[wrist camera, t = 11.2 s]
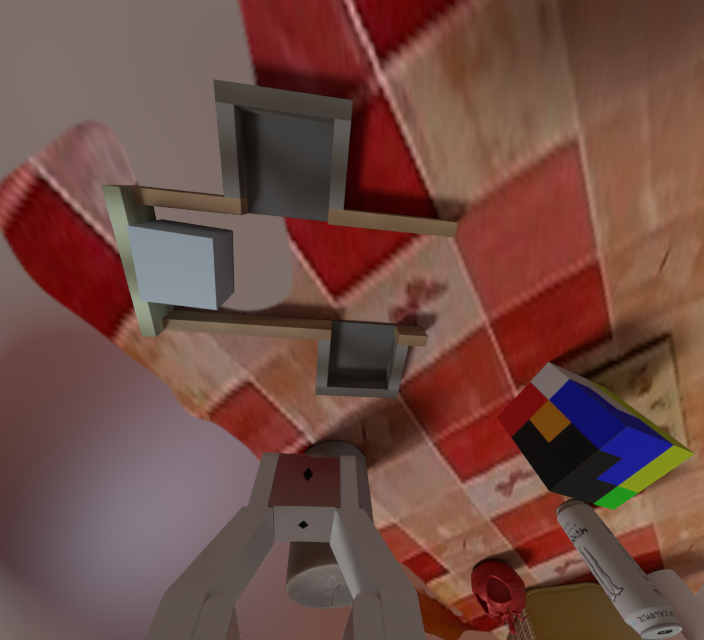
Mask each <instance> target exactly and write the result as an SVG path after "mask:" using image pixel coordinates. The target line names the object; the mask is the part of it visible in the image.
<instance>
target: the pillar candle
mask: <svg viewBox="0 0 704 640" xmlns="http://www.w3.org/2000/svg"><path fill="white" fill-rule="evenodd" d="M303 454H305V455H310V454H322V455H339V456H340V455H342V456H355V459H356V471H357V485H358V500H359V508H360V509H364V510H365V512H366V513H367V515H368V516H369V518H370V519H371V521H372V522H373V515H372V506H371V498H370V490H369V483H368V475H367V467H366V460H365V456H364V455H363V453H362V452H361V451H360V450H359V449H358V448H357V447H355V446H354V445H352V444H350V443H347V442H343V441H326V442H322V443H319V444H316V445H315V446H312V447H311V448H310V449H308V450H307V451H305V452H304V453H303ZM373 524H374V523H373ZM285 588H286V589H285V590H286V593H287V595H288V597H289V598H290V599H291V600H292V601H294V602H296V603H298V604H300V605H303V606H307V607H310V608H319V609H328V608H338V607H345V606H349V605H352V602H353V600H354V599H353V597H352V595H351V592H350V590H349V588H348V585H347V583H346V581H345V578H344V576H343V574H342V571H341V569H340V567H339V564H338V562H337V560H336V557H335V555H334V553H333V551H332V548H331V546H330V542H306V541H296V542H290V551H289V559H288V569H287V579H286V587H285Z"/></svg>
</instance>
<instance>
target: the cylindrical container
mask: <svg viewBox="0 0 704 640" xmlns="http://www.w3.org/2000/svg"><path fill="white" fill-rule="evenodd" d="M647 577H648V578H649V579H650V581H651V582H652V583H653V584H654V586H655V587H656V588H657V589H658V591H659V592H660V593H661V594H662V596H663V597H664V598H665V599H666V601H667V602H668V603H669V604H670V606H671V607H672V609H673V611H674V614H675V617H676V620H677V622H678V624H679V625H680V626H681V627H682V630H681V633H682V634H683V635H684V636H685V638H686V639H687V640H704V605H703V604H702V603H701V601H700V600H699V599H698V598H697V597H696V596H695V594H694V593H693V592H692V591H691V590H690V589H689V588H688V587H687V585H686V584H685V583H684V582H683V581H682V580H681V579H680V577H679V576H678V575H677V574H676V573H675V572H674V571H673V570H671V569H664V570H659V571H655V572H653V573H650V574H648V575H647Z"/></svg>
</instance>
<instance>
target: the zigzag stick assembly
mask: <svg viewBox="0 0 704 640" xmlns="http://www.w3.org/2000/svg"><path fill="white" fill-rule="evenodd" d="M214 91H215V102H216V112H217V122H218V134H219V145H220V154H221V166H222V177H223V187H224V195H216V194H207V193H198V192H189V191H180V190H171V189H161V188H152V187H144V186H135V185H101V186H102V190H103V193H104V197H105V201H106V204H107V208H108V212H109V216H110V219H111V223H112V227H113V230H114V234H115V238H116V241H117V245H118V249H119V253H120V256H121V260H122V264H123V267H124V271H125V275H126V278H127V282H128V286H129V290H130V293H131V297H132V301H133V304H134V308H135V312H136V315H137V319H138V323H139V327H140V330H141V334H142V336H151V337H156V336H158V335H159V334H160V333H161V332H162V331H164V330H170V331H186V332H202V333H218V334H234V335H250V336H266V337H282V338H298V339H314V340H319V343H318V360H317V377H316V394H315V395H334V396H357V397H380V398H397V394H398V390H399V386H400V381H401V377H402V373H403V368H404V364H405V360H406V355H407V351H408V347H409V345H410V346H426V342H427V338H428V336H427V334H426V333H425V331H424V329H423V328H422V327H418V326H404V325H389V324H375V323H361V322H346V321H332V320H318V319H303V318H289V317H275V316H260V315H246V314H232V313H217V312H203V311H189V310H174V306H173V305H171V304H163V303H155V302H146V301H141V299H140V293H139V288H138V283H137V277H136V272H135V267H134V261H133V256H132V251H131V245H130V240H129V235H128V229H127V225H133V224H139V223H144V222H150V221H156V216H155V211H154V206H159V207H169V208H179V209H188V210H198V211H207V212H216V213H226V214H237V215H243V214H246V213H253V214H264V215H272V216H281V217H291V218H300V219H310V220H319V221H328V224H332V225H341V226H351V227H361V228H370V229H380V230H389V231H399V232H409V233H418V234H428V235H438V236H447V237H454V235H455V231H456V228H457V224H458V223H457V222H453V221H450V220H443V219H434V218H425V217H416V216H407V215H398V214H389V213H380V212H371V211H361V210H352V209H344V199H345V187H346V175H347V163H348V151H349V140H350V128H351V116H352V104H353V100H347V99H341V98H334V97H327V96H321V95H314V94H307V93H300V92H294V91H287V90H280V89H274V88H267V87H260V86H254V85H247V84H240V83H233V82H227V81H220V80H214Z"/></svg>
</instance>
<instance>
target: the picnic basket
mask: <svg viewBox="0 0 704 640" xmlns="http://www.w3.org/2000/svg"><path fill="white" fill-rule="evenodd" d="M526 593H527V598H526V607H525V608H524V609H523V610H522V613H521V615H519V616H520V617H521V618H524V617H525V616H526V615H527V614H529V613H530V614H529V615H528V616H527V618H526V619H525V620H521V619H520V618H518V617H517V619H516V621H517V622H518V623H515V624H514V628H515V629H516V631H517V633H516V634H511V633H510V632H509V633H508V636H507V640H643V639H642V638H641V636H640V634H639V633H638V632H637V631H635V630H634V629H633V628H632V627H631V626H629V625H628V624H627V623H626V622H625V621H624V619H623V618H622V616H621V615H620V613H619V612H618V610H617V609H616V607H615V606H614V604H613V603H612V601H611V600H610V598H609V597H608V595H607V594H606V592H605V591H604V589H603V588H602V586H601V585H599V584H596V583H593V582H582V583H574V584H566V585H558V586H551V587H543V588H535V589H531V590H528V591H526ZM516 621H515V622H516Z"/></svg>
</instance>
